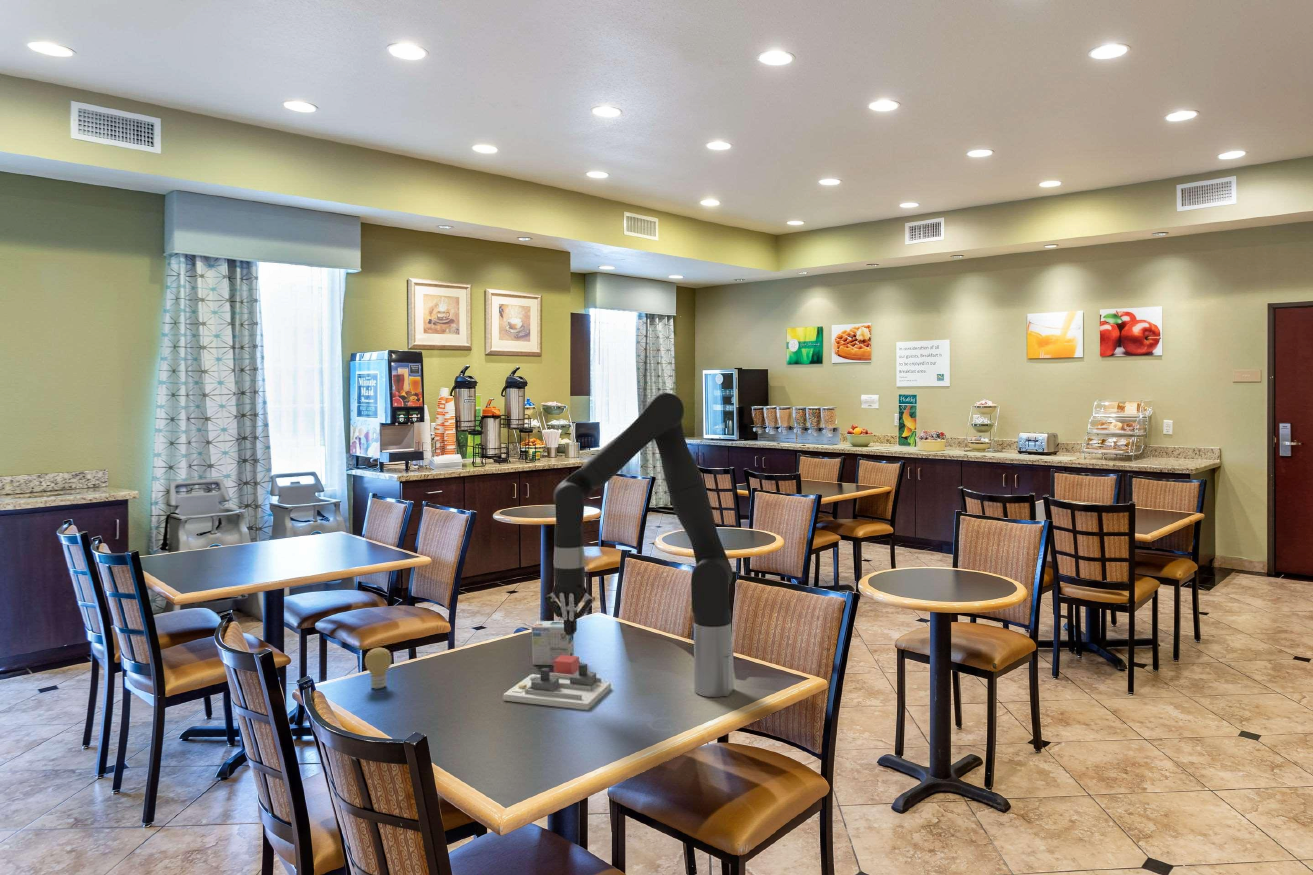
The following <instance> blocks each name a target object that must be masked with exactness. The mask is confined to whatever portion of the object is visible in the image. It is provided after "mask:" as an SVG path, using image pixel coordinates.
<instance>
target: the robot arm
mask: <svg viewBox="0 0 1313 875" xmlns="http://www.w3.org/2000/svg"><path fill="white" fill-rule="evenodd" d="M684 413H685V407H684V404H683V402H682V400H681V398H679V396H678V395H676V394H674V393H671V392H661V393H658V394H656V395H654V396H653V397H651V399H650V400H649V401H648V402H647V404H646V406H645V408H644V409H643V411H642V412H641V413H640V414H639V415H638V417H637V418H636V419H635V420H634V421H633V422H632V423H631V424H630V425H629V426H628V427H627V428H625V429H624V430H623V431H622V432H621V433H620V434H618V435H617V436H616V437H615V438H613V439H612V440H611V441H610V442H607V444H606V445H604V446H603V447H602V448H601V449H599V450H598V451H597V452H596V453H595V454H594V455H592V457H590V458H589V459H588V460H587V461H586V462H585V463H584V464H583V465H582V466H581V467H580V468H579V469H577V470H576V471H574V472H573V473H571V474H570V475H569V476H567V477H566V478H565V479H563V480H562V481H561V482H560V483H558V484H557V486H556V487H555V488H554V491H553V494H552V498H553V502H554V504H555V505H554V506H555V507H554V508H555V526H554V548H553V560H552V561H553V562H552V563H553V583H554V586H553V588H552V592H551V593H549V594H547V595H546V596H545V597H544V601H545V602H546V604H547V605H548V606H549V608H550V609H551V611H552V612H553V613H554V614H555V616H556V618H561V619H562V621H564V632H565V633H566V635H570V636H572V635H575V633H577V630H578V628H577V627H578V625H577V624H578V623H577V621H578V619H580V618H582V617H583V616H585V615H586V613H587V612H588V610H589V609H590V608H591V606H592V605H593V604H594V602H595V601H596V598H595V596H591V595H589V594H588V593H587V592H588V590H587V588H586V561H585V560H586V559H585V558H586V556H585V548H584V526H583V524H584V512H585V499H586V498H587V497H588V496H589V495H590V494H591V493H592V492H594V491H595V490H597V489H600V488H601V487H603V486H604V485H605V484H607V483H608V482H609V481H610V480H611V479H612V478H613V477H615V476H616V475H617V474H618V472H620V471H621V470H622V469H623V468H624V467H625V466H627V464H628V463H629V462H630V461H631V460H633V458H634V457H636V455H637V454H638V453H639V452H640V451H641V450H643V448H645V447H646V446H647V445H649V443H651V442H652V441H653V440H654V442H655V445H656V447H657V450H658V453H659V457H660V461H661V467H662V472H663V475H664V480H665V484H666V487H667V488H666V489H667V491H668V495H669V498H670V501H671V504H672V508H673V510H674V514H675V515H676V517H677V519H678V521H679V523H680V525H681V526H682V529H683V530H684V531H685V533H686V535H687V537H688V538H689V541H690V543H691V547H692V551H693V555H694V556H693V557H694V560H695V566H694V568H692V572H691V578H690V588H691V589H690V592H691V594H690V596H691V612H692V615H693V663H694V664H693V673H694V674H693V676H694V677H693V678H694V679H693V680H694V681H693V687H694V688H693V689H694V692H695V693H696V694H697V695H699V696H703V697H707V698H708V697H710V698H720V697H729V696H730V695H731V693H732V692H733V690H735V689H734V686H735V685H734V684H735V682H734V680H735V679H734V673H735V672H734V669H735V668H734V650H732V612H731V609H730V590H729V589H730V584H731V582H732V580H733V568H732V564H731V563H730V559H729V558H728V556H727V553H726V550H725V548H724V547H723V544H722V541H721V538H720V536H719V533H718V528H717V525H716V521H715V517H714V513H713V508H712V505H711V501H710V497H709V494H708V490H707V488H706V484H705V481H704V478H703V475H702V473H701V471H700V468H699V467H698V465H697V463H696V461H695V458H694V457H693V455H692V453H691V451H690V449H689V447H688V444H687V441H686V437H685V433H684V429H683V423H682V419H684V415H685V414H684ZM582 601H583V605H582V606H581V608H580V609H579V607H580V604H581V602H582Z"/></svg>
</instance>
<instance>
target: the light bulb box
mask: <svg viewBox="0 0 1313 875" xmlns="http://www.w3.org/2000/svg"><path fill="white" fill-rule="evenodd" d="M574 635H575V634H574ZM574 635H572V636H570V635H566V633H565V632H564V620H562V621H561V620H560V621H559V620H549V621H548V620H536V621H535V623H534V624H533V625H532V626H531V657H532V658H531V661H532V662H531V663H532V665H533V666H534V665H535V666H536V665H537V666H538V665H539V666H540V665H541V666H548V665H549V666H554V660H555V659H557V658H558V657H559V656H561V655H568V656H575V644H574V643H575V641H574Z"/></svg>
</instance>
